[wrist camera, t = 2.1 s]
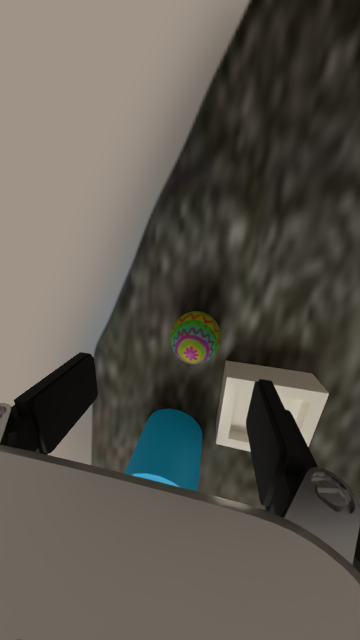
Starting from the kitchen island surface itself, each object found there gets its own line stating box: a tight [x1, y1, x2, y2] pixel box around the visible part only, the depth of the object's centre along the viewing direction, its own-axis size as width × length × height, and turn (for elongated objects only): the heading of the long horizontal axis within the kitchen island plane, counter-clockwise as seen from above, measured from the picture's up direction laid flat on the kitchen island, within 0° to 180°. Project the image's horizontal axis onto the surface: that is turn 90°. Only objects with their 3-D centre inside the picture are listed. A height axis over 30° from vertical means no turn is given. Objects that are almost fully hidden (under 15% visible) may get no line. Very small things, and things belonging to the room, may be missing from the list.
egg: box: [170, 311, 221, 364], centre depth 18 cm, size 5×5×6 cm
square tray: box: [216, 361, 329, 452], centre depth 20 cm, size 9×9×3 cm
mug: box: [124, 409, 202, 492], centre depth 23 cm, size 12×8×8 cm
